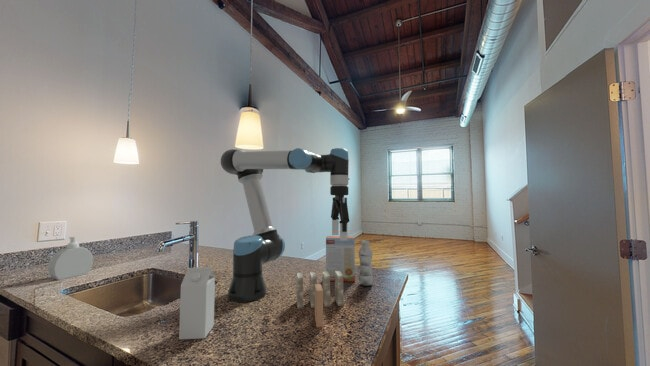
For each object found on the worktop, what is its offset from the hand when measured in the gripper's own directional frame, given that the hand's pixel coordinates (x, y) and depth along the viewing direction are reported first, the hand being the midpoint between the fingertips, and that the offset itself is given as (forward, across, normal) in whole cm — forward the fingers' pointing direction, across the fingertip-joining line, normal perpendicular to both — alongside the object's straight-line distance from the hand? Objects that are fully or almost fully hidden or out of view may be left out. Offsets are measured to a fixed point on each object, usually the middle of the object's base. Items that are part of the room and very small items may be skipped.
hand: (339, 237), depth 103 cm
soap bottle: (+25, +54, +128) cm, 141 cm away
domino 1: (+24, -5, +16) cm, 29 cm away
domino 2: (+24, -5, +11) cm, 27 cm away
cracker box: (+24, +20, -6) cm, 32 cm away
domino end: (+24, -19, +12) cm, 33 cm away
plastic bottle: (+24, +10, -16) cm, 30 cm away
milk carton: (+24, -18, +48) cm, 57 cm away
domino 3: (+24, -5, +6) cm, 25 cm away
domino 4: (+24, -6, +1) cm, 24 cm away
